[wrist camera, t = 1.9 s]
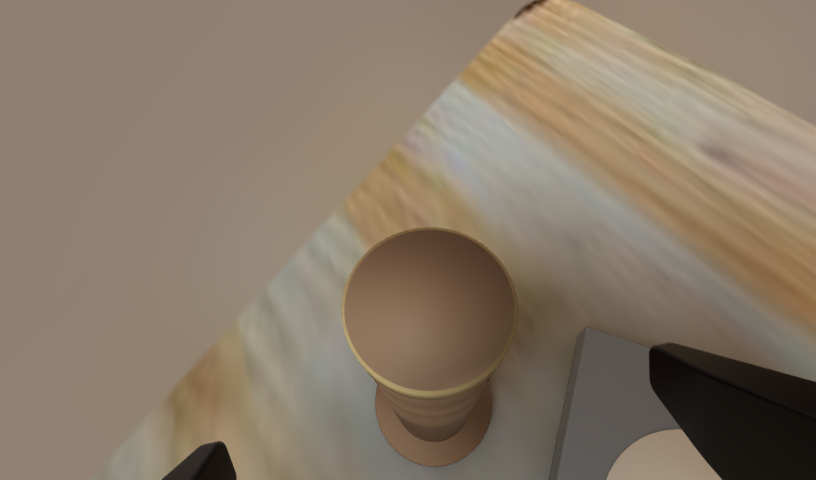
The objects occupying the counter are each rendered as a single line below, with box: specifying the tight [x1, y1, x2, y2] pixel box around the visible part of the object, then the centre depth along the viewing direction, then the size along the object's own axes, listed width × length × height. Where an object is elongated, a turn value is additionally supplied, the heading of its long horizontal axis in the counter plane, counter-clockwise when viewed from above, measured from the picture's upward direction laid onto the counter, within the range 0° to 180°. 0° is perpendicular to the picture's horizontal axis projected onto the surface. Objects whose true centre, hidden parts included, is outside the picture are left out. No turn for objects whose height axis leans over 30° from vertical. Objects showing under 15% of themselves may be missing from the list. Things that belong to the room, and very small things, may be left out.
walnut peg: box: [342, 228, 518, 467], centre depth 12 cm, size 5×5×12 cm
